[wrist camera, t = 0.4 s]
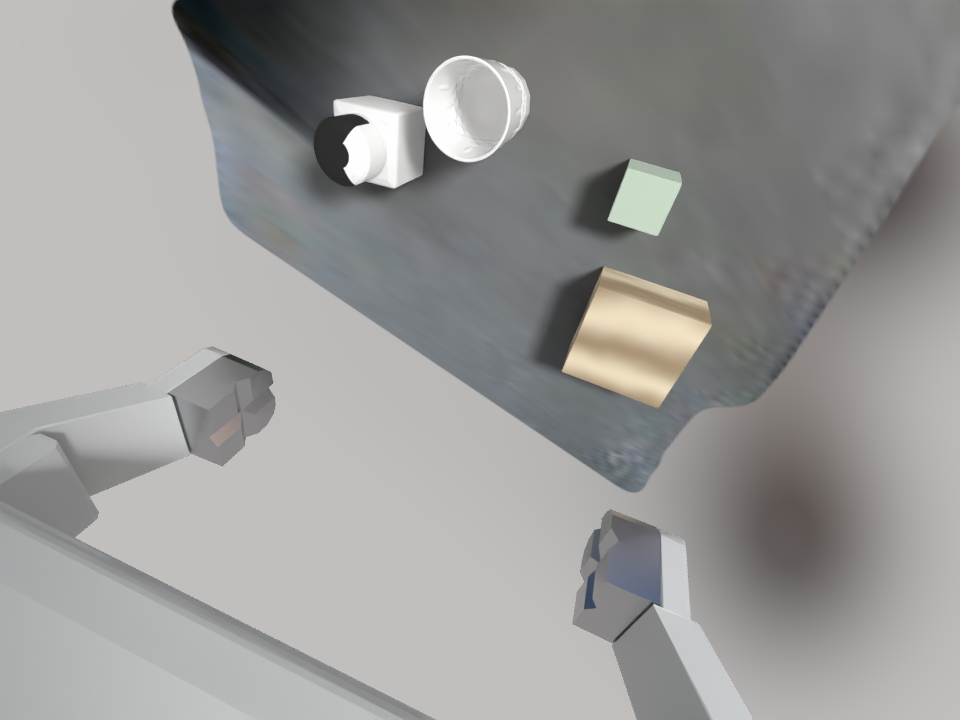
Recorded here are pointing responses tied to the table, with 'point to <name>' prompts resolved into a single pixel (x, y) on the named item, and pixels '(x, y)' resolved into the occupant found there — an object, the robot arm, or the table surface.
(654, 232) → the sage cube
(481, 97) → the white cup
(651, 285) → the beech block
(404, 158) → the medicine bottle
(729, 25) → the table surface
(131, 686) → the robot arm
